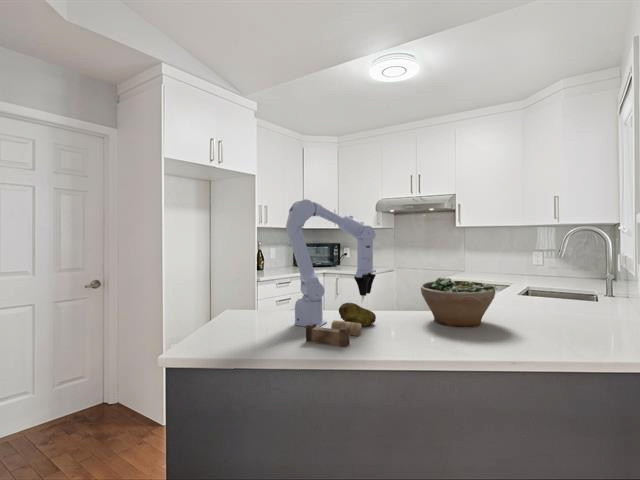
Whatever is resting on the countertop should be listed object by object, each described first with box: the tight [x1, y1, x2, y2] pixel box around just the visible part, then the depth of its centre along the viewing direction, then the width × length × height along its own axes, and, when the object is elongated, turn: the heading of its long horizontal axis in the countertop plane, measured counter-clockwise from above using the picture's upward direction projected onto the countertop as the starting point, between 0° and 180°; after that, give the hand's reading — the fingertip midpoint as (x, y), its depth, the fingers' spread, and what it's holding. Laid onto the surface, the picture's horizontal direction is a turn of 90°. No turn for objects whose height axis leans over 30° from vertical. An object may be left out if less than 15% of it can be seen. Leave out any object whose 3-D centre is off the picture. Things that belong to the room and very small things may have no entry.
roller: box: [330, 320, 363, 337], centre depth 121 cm, size 9×4×4 cm, turn 65°
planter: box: [420, 277, 499, 329], centre depth 134 cm, size 26×25×15 cm
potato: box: [338, 302, 377, 327], centre depth 131 cm, size 8×13×8 cm, turn 81°
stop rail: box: [305, 323, 350, 348], centre depth 111 cm, size 13×3×5 cm, turn 65°
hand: (365, 294), depth 139 cm, fingers open, 4 cm apart
